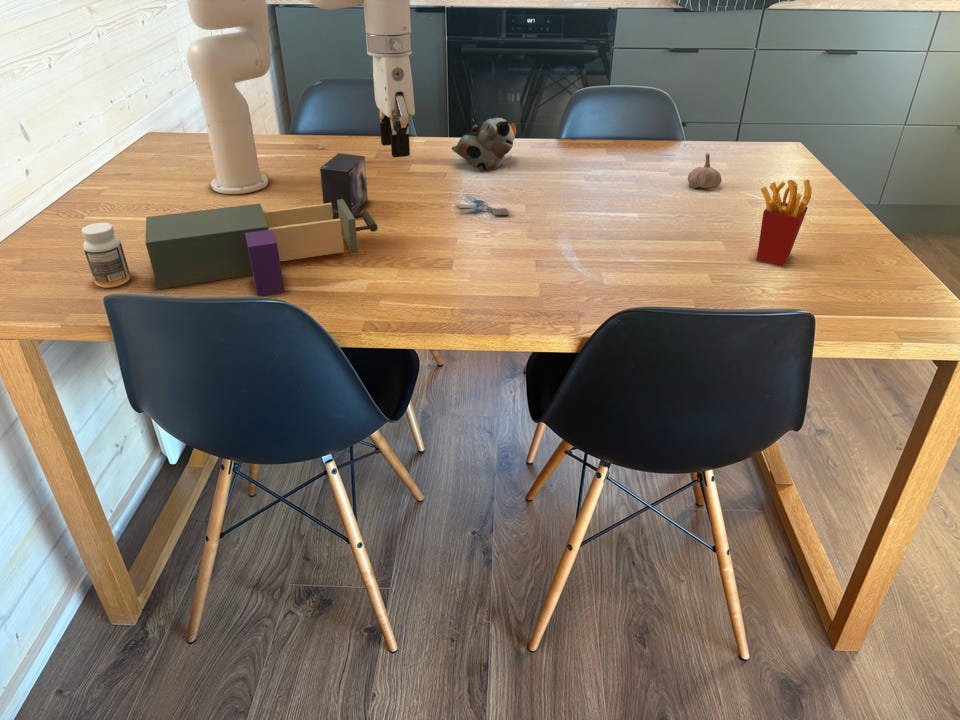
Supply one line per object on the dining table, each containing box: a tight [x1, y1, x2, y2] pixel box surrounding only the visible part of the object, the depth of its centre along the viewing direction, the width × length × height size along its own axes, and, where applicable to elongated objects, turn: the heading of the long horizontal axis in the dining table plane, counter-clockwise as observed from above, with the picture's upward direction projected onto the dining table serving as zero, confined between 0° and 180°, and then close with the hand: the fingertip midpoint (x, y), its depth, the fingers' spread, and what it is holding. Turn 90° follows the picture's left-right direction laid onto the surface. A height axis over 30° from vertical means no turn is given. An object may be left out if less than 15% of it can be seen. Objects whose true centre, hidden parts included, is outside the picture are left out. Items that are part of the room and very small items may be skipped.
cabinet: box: [144, 203, 269, 290], centre depth 124 cm, size 20×12×9 cm, turn 111°
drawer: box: [263, 199, 379, 262], centre depth 129 cm, size 23×10×7 cm, turn 111°
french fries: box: [756, 179, 812, 268], centre depth 128 cm, size 9×8×15 cm
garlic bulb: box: [687, 151, 723, 189], centre depth 161 cm, size 8×7×8 cm
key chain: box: [458, 194, 510, 216], centre depth 149 cm, size 14×8×1 cm, turn 47°
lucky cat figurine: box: [451, 117, 517, 172], centre depth 172 cm, size 15×12×14 cm
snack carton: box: [245, 229, 286, 297], centre depth 118 cm, size 6×4×9 cm
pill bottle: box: [81, 222, 131, 288], centre depth 118 cm, size 6×6×10 cm
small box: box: [319, 152, 369, 219], centre depth 147 cm, size 11×6×10 cm, turn 168°
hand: (395, 149), depth 127 cm, fingers open, 6 cm apart
